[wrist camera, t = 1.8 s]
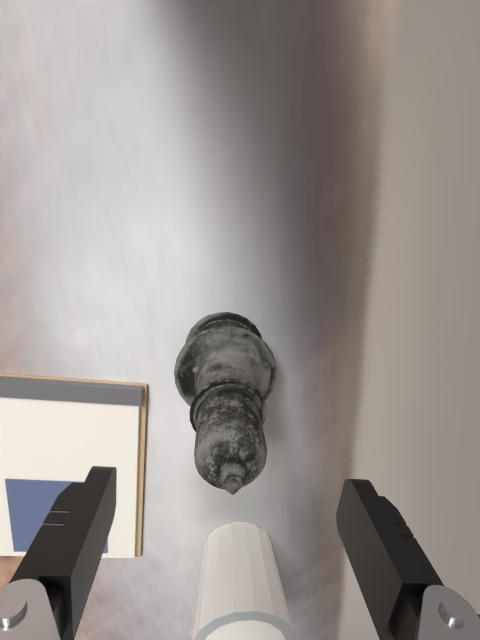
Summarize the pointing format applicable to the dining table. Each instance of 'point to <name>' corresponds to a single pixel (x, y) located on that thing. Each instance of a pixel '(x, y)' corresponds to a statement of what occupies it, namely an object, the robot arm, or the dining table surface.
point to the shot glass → (240, 588)
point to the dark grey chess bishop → (226, 397)
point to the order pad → (69, 453)
